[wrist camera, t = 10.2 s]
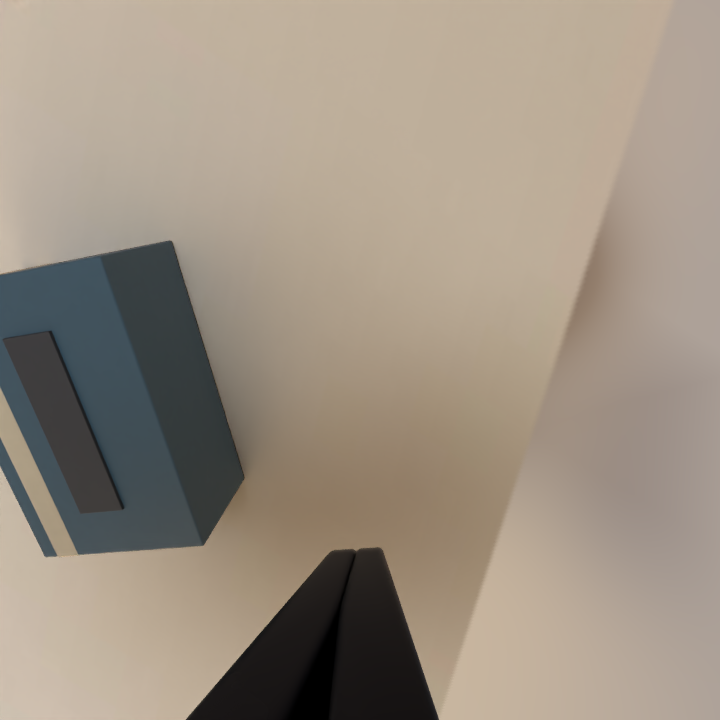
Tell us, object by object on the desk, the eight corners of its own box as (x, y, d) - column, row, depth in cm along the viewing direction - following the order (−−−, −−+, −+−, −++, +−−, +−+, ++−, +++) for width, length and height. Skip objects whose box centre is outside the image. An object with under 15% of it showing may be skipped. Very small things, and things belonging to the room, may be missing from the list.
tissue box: (171, 239, 19) (20, 269, 20) (96, 255, 14) (-92, 292, 15) (245, 478, 22) (112, 491, 23) (202, 549, 18) (42, 560, 19)
